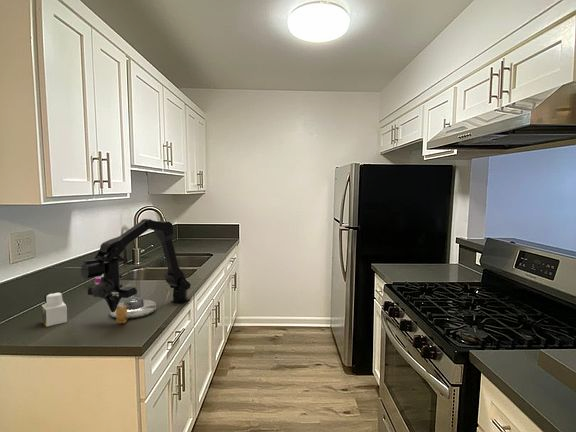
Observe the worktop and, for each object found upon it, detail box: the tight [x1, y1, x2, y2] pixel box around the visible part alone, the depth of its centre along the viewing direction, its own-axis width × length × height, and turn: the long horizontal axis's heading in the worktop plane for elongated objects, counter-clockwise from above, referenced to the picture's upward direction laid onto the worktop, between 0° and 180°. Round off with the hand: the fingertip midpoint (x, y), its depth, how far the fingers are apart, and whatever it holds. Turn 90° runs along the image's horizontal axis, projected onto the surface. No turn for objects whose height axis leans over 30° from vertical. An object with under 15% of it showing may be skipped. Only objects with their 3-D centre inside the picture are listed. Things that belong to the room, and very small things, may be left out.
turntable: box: [109, 299, 157, 324], centre depth 149 cm, size 23×18×6 cm
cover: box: [123, 296, 145, 310], centre depth 151 cm, size 8×8×4 cm
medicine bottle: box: [41, 291, 68, 328], centre depth 140 cm, size 7×7×12 cm
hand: (113, 311), depth 139 cm, fingers closed
